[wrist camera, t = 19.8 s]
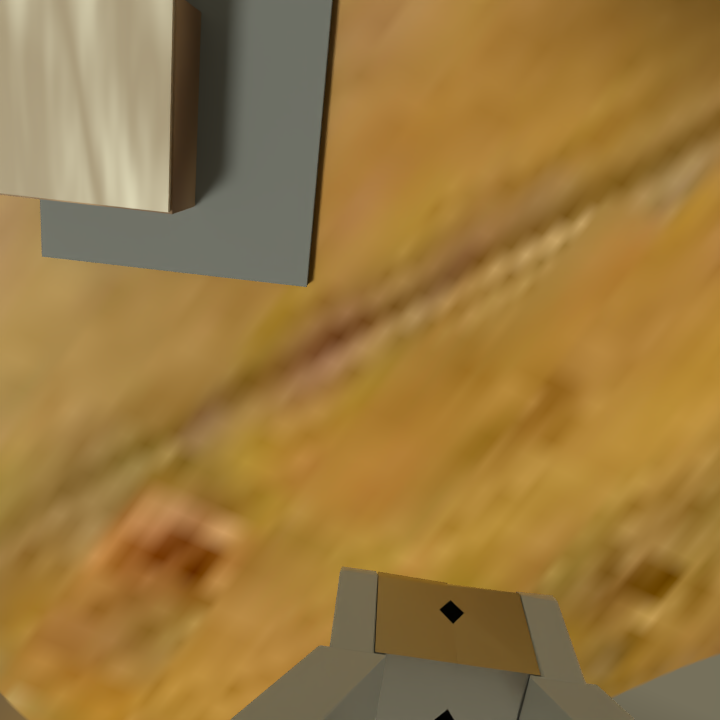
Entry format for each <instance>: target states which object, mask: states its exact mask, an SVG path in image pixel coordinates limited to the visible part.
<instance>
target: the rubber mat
mask: <svg viewBox="0 0 720 720" xmlns="http://www.w3.org/2000/svg"><path fill="white" fill-rule="evenodd" d="M186 1H187V2H188V3H190V4H191V5H192V6H194V7H195V8H196V9H198V10H199V11H200V12H201V38H200V68H199V98H198V128H197V158H196V188H195V207H192V208H189V209H186V210H183V211H180V212H177V213H174V214H166V213H157V212H148V211H140V210H131V209H122V208H113V207H104V206H96V205H87V204H78V203H69V202H60V201H52V200H43V199H40V210H41V240H42V256H43V257H51V258H60V259H69V260H78V261H86V262H95V263H104V264H112V265H121V266H130V267H138V268H147V269H156V270H164V271H173V272H182V273H190V274H199V275H208V276H216V277H225V278H234V279H243V280H251V281H260V282H269V283H277V284H286V285H295V286H303V287H307V285H308V275H309V264H310V252H311V241H312V230H313V219H314V207H315V196H316V185H317V174H318V163H319V151H320V140H321V129H322V118H323V107H324V95H325V84H326V73H327V62H328V51H329V39H330V28H331V17H332V6H333V0H186Z"/></svg>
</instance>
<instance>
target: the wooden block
mask: <svg viewBox="0 0 720 720" xmlns="http://www.w3.org/2000/svg"><path fill="white" fill-rule="evenodd" d="M200 38H201V12H200V11H199V10H198V9H196V8H195V7H194V6H192V5H191V4H190V3H188V2H187V1H186V0H0V195H8V196H16V197H25V198H34V199H43V200H52V201H60V202H69V203H78V204H87V205H96V206H104V207H113V208H122V209H131V210H140V211H148V212H157V213H166V214H174V213H177V212H180V211H183V210H186V209H189V208H192V207H195V188H196V158H197V128H198V98H199V68H200Z"/></svg>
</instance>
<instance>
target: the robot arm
mask: <svg viewBox="0 0 720 720" xmlns="http://www.w3.org/2000/svg"><path fill="white" fill-rule="evenodd" d="M231 720H635V719H634V718H633V717H632V716H631V715H630V714H628V713H627V712H626V711H625V710H624V709H623V708H622V707H621V706H620V705H618V704H617V703H616V702H615V701H614V700H613V699H612V698H611V697H610V696H608V695H607V694H606V693H605V692H604V691H603V690H602V689H601V688H600V687H598V686H597V685H593V684H586V682H585V680H584V677H583V674H582V671H581V668H580V665H579V662H578V660H577V657H576V654H575V651H574V648H573V645H572V642H571V639H570V637H569V634H568V631H567V628H566V625H565V622H564V619H563V617H562V614H561V611H560V608H559V605H558V602H557V600H556V599H555V598H554V597H553V596H550V595H541V594H532V593H523V592H516V593H514V592H506V591H498V590H491V589H483V588H475V587H468V586H460V585H453V584H447V583H444V582H438V581H432V580H426V579H420V578H413V577H407V576H401V575H395V574H389V573H383V572H378V573H376V571H370V570H363V569H356V568H349V567H342V568H341V571H340V576H339V584H338V591H337V598H336V606H335V613H334V620H333V627H332V635H331V642H330V647H327V646H318V647H317V648H316V649H314V650H313V651H312V652H311V653H310V654H308V655H307V656H306V657H305V658H304V659H302V660H301V661H300V662H299V663H298V664H296V665H295V666H294V667H293V668H292V669H290V670H289V671H288V672H287V673H286V674H284V675H283V676H282V677H281V678H280V679H278V680H277V681H276V682H275V683H274V684H272V685H271V686H270V687H269V688H268V689H266V690H265V691H264V692H263V693H262V694H260V695H259V696H258V697H257V698H256V699H254V700H253V701H252V702H251V703H250V704H249V705H247V706H246V707H245V708H244V709H243V710H241V711H240V712H239V713H238V714H237V715H235V716H234V717H233V718H232V719H231Z"/></svg>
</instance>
